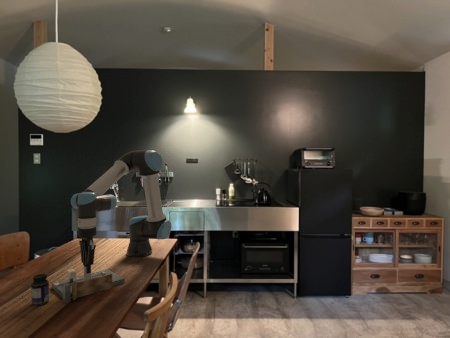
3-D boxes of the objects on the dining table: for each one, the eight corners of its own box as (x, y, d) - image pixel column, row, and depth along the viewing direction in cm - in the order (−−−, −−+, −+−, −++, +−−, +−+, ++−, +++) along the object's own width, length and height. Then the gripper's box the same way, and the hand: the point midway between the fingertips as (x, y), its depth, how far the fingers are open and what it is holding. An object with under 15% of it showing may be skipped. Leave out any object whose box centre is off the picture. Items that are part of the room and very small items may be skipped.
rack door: (111, 287, 140) (110, 272, 140) (112, 288, 139) (112, 273, 139) (71, 298, 129) (71, 282, 128) (72, 300, 127) (72, 283, 127)
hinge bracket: (68, 299, 128) (67, 282, 128) (70, 301, 126) (70, 284, 126) (62, 301, 127) (62, 284, 127) (65, 303, 125) (65, 286, 125)
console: (107, 273, 159) (107, 267, 159) (124, 282, 146) (124, 276, 146) (51, 287, 141) (51, 281, 141) (65, 299, 128) (64, 293, 128)
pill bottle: (45, 298, 129) (45, 272, 129) (51, 302, 126) (51, 275, 125) (28, 303, 125) (28, 276, 125) (34, 307, 121) (34, 279, 121)
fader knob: (72, 279, 144) (72, 268, 144) (75, 282, 141) (75, 270, 141) (66, 280, 143) (66, 269, 143) (70, 283, 139) (70, 272, 139)
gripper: (73, 226, 141) (73, 278, 141) (84, 230, 131) (84, 286, 132) (90, 223, 146) (90, 273, 146) (101, 228, 137) (101, 281, 137)
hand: (87, 279), depth 139 cm, fingers closed
